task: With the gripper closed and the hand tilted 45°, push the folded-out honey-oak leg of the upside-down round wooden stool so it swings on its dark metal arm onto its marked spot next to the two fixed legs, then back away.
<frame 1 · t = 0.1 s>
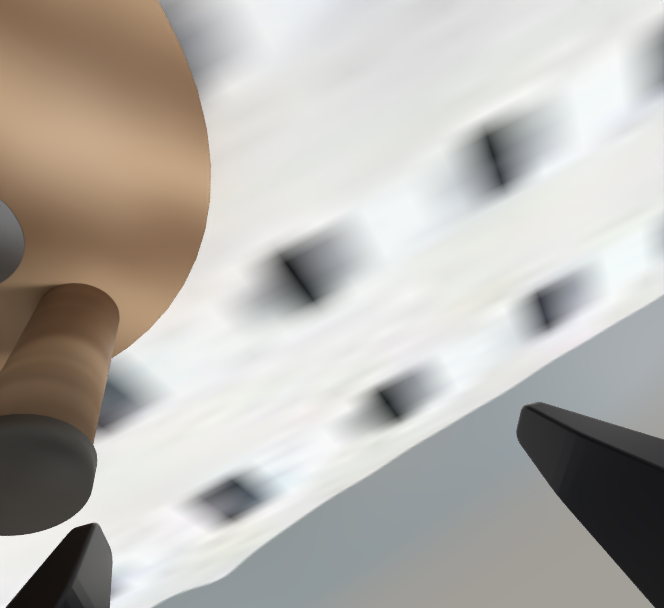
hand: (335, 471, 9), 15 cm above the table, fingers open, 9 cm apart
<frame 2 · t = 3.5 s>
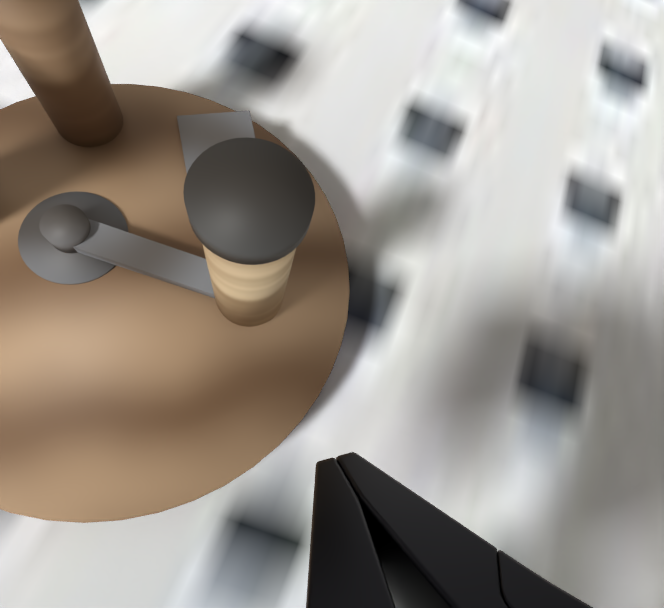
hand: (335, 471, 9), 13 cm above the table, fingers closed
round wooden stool: (140, 290, 22), on the table
hinged leg: (153, 227, 15), point 7 cm above the table, hinge at 0.0°
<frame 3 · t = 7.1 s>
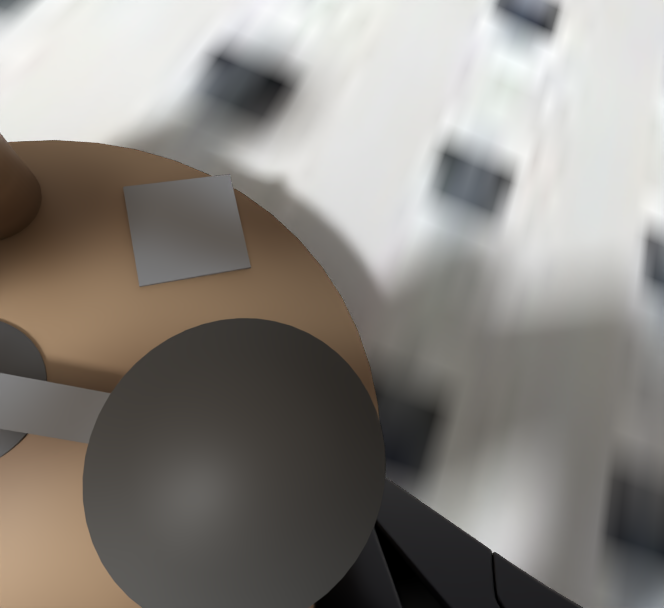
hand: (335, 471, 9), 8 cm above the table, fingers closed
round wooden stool: (74, 443, 15), on the table
hinged leg: (65, 424, 9), point 7 cm above the table, hinge at 5.4°, touching gripper
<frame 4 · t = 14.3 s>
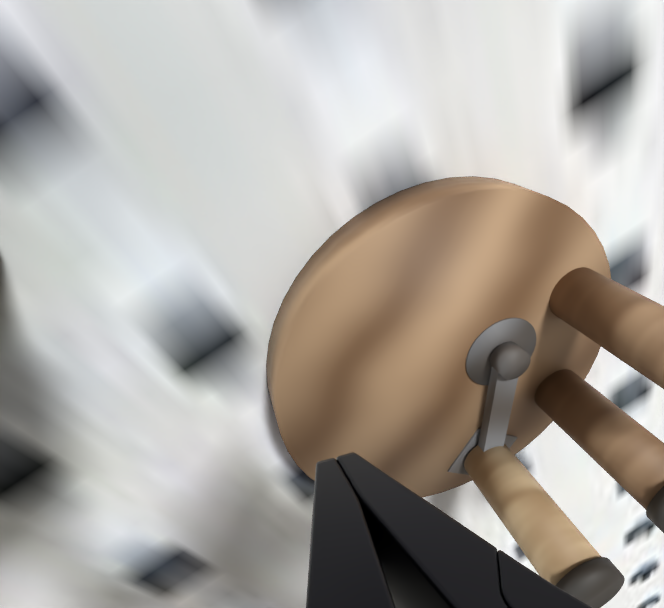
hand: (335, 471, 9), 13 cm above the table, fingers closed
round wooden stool: (434, 347, 26), on the table
hinged leg: (541, 475, 23), point 7 cm above the table, hinge at 60.1°
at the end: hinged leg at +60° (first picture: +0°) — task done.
